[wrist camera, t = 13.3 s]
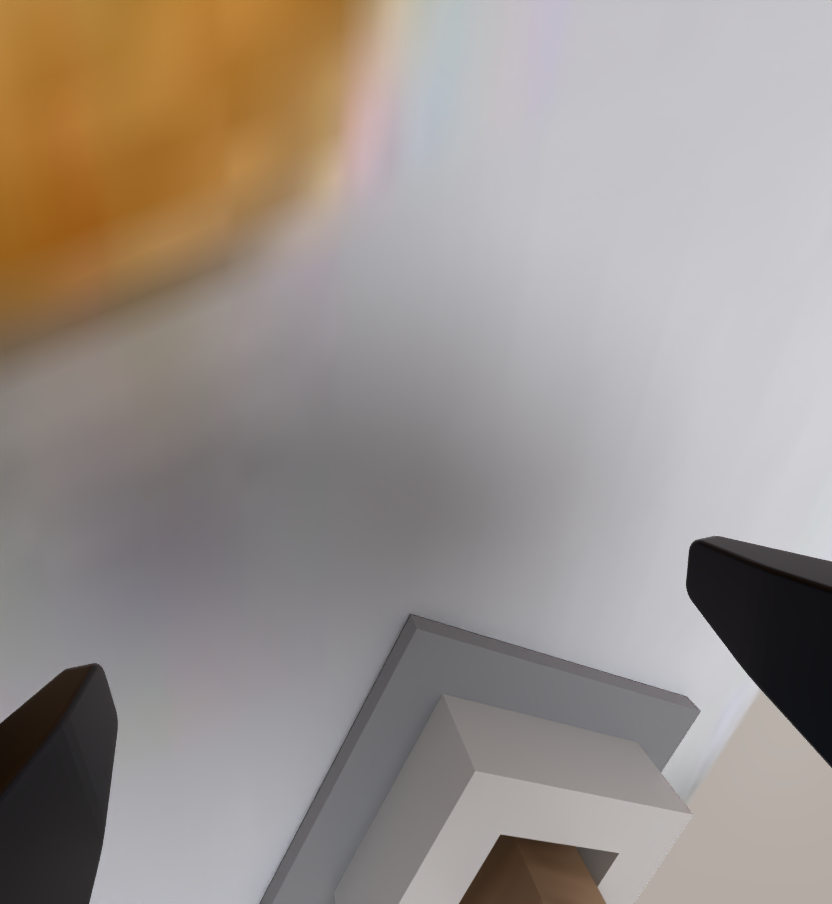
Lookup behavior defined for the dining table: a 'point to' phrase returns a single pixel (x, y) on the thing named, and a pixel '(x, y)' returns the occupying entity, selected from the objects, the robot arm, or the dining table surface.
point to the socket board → (410, 708)
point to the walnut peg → (532, 875)
